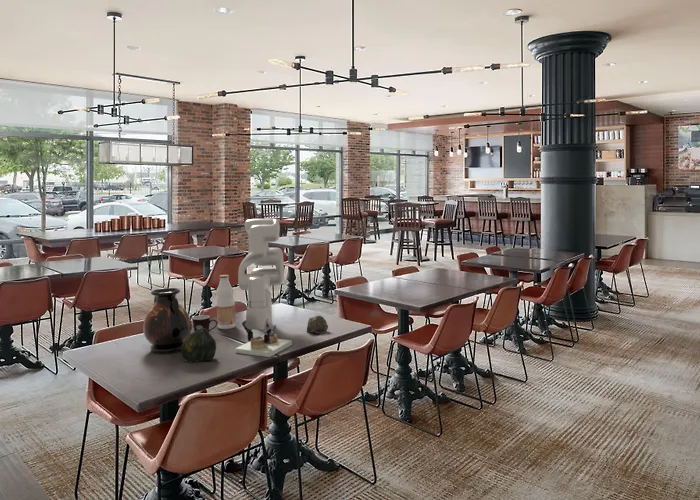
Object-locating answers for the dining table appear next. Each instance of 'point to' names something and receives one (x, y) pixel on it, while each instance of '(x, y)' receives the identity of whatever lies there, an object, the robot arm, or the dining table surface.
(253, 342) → the maple gear
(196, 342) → the squash
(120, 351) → the dining table surface
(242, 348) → the gear board
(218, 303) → the fruit juice
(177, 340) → the amphora vase
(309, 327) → the grey lumpy stone
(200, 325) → the coffee mug
